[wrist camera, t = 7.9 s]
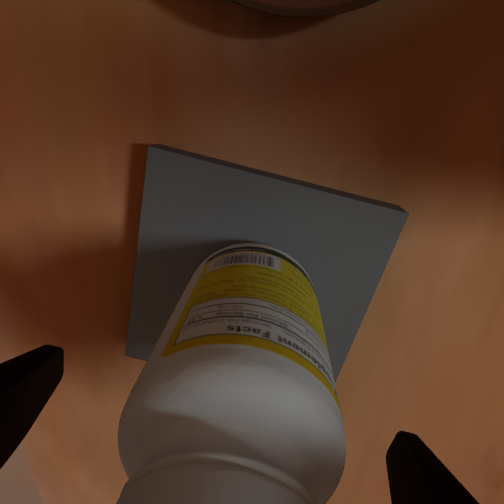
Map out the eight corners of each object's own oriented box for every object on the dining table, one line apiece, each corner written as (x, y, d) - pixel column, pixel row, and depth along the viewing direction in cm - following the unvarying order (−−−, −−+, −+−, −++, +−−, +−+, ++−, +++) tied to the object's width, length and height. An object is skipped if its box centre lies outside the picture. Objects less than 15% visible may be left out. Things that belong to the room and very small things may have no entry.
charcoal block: (392, 201, 14) (409, 213, 12) (320, 377, 18) (324, 407, 16) (166, 142, 14) (148, 146, 12) (141, 331, 18) (125, 355, 16)
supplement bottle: (253, 368, 16) (212, 715, 7) (165, 294, 14) (-29, 593, 5) (344, 302, 14) (459, 654, 5) (253, 211, 13) (179, 451, 4)
